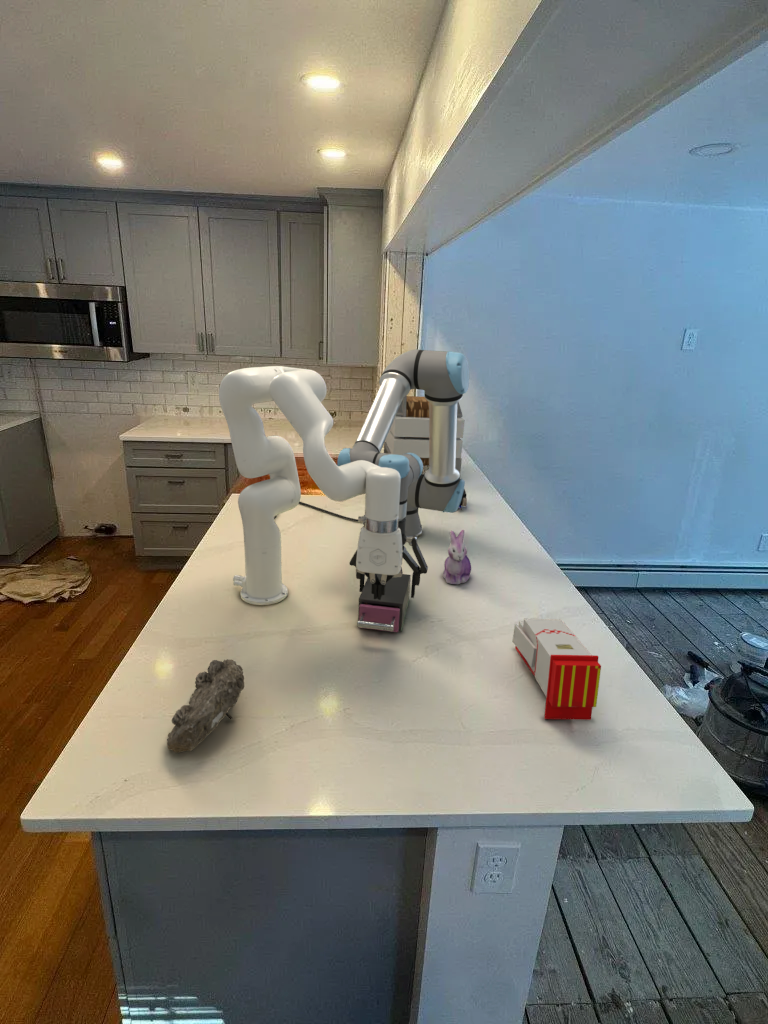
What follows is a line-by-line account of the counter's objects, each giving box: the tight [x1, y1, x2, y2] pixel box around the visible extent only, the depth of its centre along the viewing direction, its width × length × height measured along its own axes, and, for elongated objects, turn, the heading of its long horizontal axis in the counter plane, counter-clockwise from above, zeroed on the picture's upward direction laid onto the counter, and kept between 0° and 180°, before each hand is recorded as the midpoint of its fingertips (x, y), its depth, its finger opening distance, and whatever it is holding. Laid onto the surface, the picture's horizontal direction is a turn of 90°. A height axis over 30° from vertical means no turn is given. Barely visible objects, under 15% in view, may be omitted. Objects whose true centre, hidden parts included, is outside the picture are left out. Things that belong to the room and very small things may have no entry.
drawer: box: [356, 603, 400, 633], centre depth 142 cm, size 21×10×6 cm, turn 171°
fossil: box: [166, 658, 245, 754], centre depth 106 cm, size 22×10×15 cm
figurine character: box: [458, 488, 468, 511], centre depth 230 cm, size 7×8×15 cm
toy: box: [512, 618, 602, 721], centre depth 123 cm, size 12×13×30 cm
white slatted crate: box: [383, 395, 465, 475], centre depth 268 cm, size 34×33×41 cm
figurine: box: [442, 529, 472, 585], centre depth 166 cm, size 9×10×15 cm
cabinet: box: [357, 573, 412, 633], centre depth 146 cm, size 16×11×8 cm
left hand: (378, 596), depth 132 cm, fingers closed
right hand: (387, 592), depth 149 cm, fingers open, 13 cm apart
